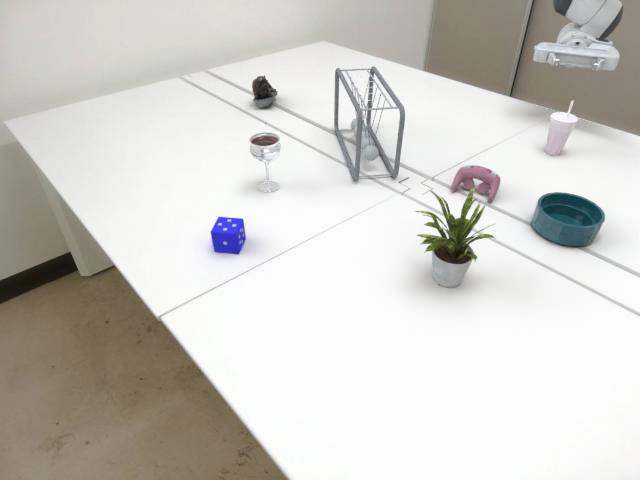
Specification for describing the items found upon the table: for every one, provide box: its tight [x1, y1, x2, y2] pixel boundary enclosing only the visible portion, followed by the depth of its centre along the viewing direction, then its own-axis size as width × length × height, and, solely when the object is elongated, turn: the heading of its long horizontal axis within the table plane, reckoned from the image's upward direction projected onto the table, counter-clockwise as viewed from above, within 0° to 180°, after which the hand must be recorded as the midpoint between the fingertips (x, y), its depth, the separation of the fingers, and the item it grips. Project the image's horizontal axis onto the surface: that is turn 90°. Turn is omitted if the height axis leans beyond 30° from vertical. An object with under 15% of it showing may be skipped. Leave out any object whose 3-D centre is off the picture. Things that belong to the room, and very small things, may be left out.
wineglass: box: [248, 131, 282, 193], centre depth 102 cm, size 7×7×12 cm
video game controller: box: [450, 164, 502, 203], centre depth 102 cm, size 10×5×7 cm, turn 59°
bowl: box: [530, 191, 606, 247], centre depth 92 cm, size 12×12×5 cm
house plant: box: [414, 186, 497, 289], centre depth 78 cm, size 14×14×16 cm
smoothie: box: [544, 99, 579, 156], centre depth 114 cm, size 6×6×14 cm
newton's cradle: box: [333, 65, 406, 181], centre depth 113 cm, size 30×10×18 cm, turn 8°
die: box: [210, 216, 247, 255], centre depth 88 cm, size 5×5×5 cm
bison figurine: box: [251, 75, 278, 108], centre depth 141 cm, size 12×7×10 cm, turn 178°
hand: (575, 65), depth 116 cm, fingers open, 8 cm apart
